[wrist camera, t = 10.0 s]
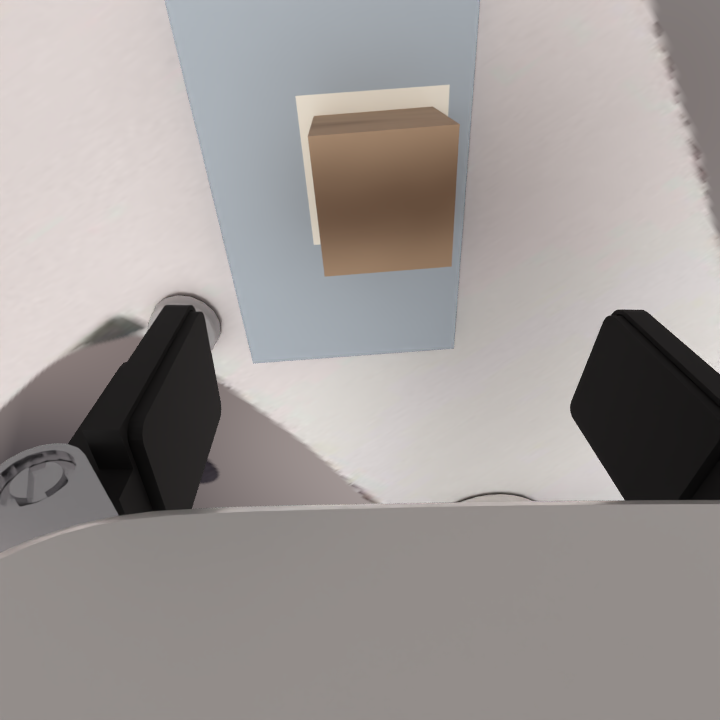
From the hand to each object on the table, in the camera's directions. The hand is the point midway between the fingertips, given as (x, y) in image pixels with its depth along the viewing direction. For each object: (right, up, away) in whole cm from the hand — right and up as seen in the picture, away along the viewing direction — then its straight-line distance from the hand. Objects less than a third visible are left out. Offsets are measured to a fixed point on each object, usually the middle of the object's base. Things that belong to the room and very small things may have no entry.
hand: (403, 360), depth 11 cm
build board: (-2, +10, +15) cm, 18 cm away
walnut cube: (0, +10, +14) cm, 17 cm away
